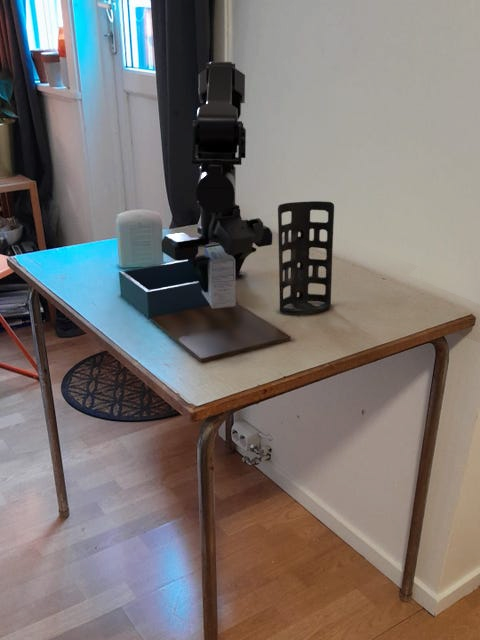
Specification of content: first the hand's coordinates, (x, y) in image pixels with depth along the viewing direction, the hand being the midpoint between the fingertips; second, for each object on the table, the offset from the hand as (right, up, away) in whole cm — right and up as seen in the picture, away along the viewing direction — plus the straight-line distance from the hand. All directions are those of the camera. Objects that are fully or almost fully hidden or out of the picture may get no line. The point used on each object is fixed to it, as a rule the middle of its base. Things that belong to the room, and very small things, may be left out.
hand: (218, 289), depth 115 cm
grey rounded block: (-19, +13, +35) cm, 42 cm away
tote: (-9, +1, +17) cm, 20 cm away
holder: (+16, -1, +15) cm, 22 cm away
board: (0, -7, +4) cm, 8 cm away
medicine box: (0, -2, +1) cm, 2 cm away
